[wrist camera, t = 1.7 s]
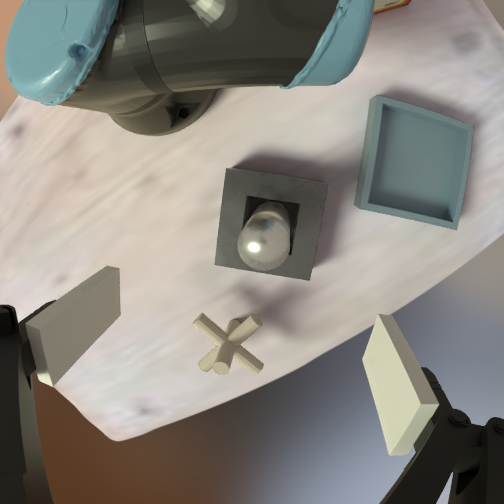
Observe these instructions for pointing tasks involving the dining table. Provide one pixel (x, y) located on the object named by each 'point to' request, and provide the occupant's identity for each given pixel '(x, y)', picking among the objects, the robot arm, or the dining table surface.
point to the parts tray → (414, 163)
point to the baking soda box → (388, 5)
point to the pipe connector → (228, 344)
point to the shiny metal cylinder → (265, 237)
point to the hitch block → (277, 188)
